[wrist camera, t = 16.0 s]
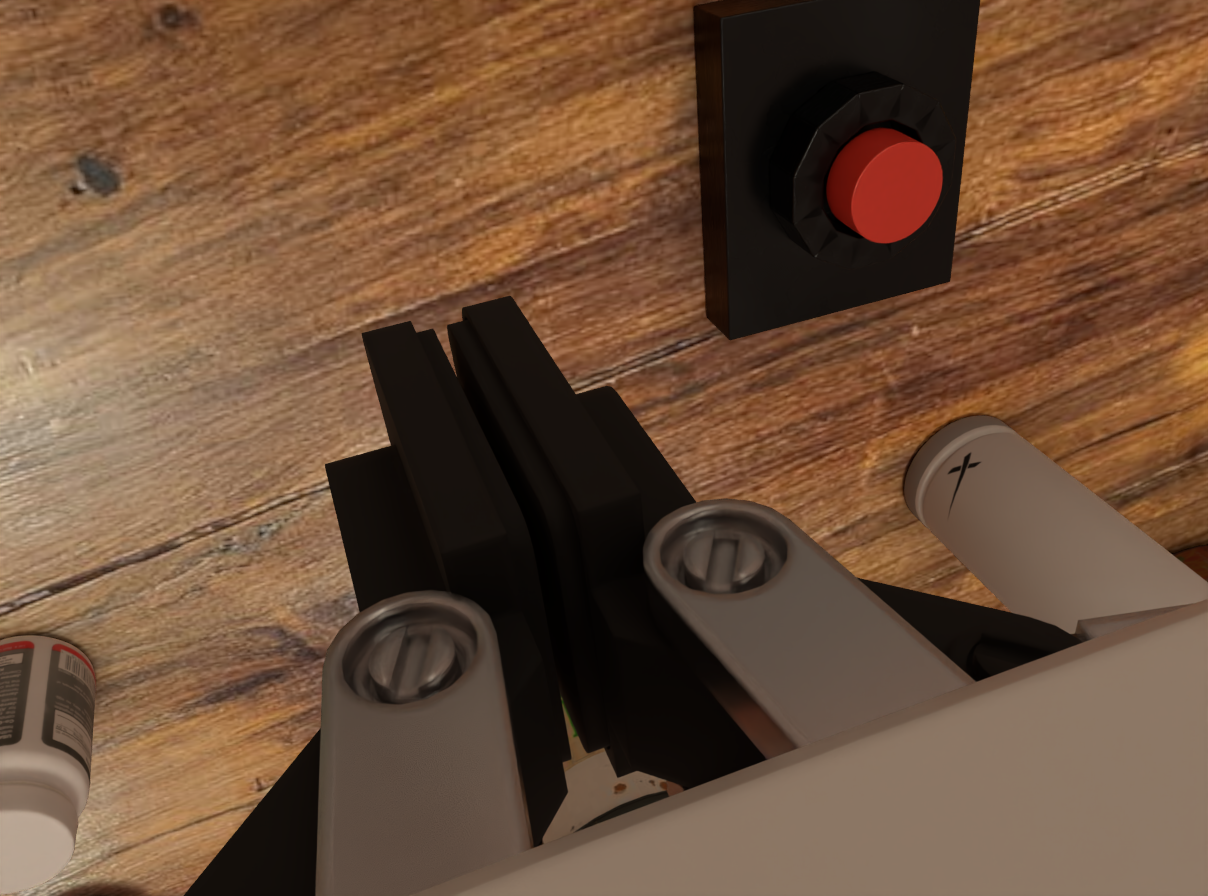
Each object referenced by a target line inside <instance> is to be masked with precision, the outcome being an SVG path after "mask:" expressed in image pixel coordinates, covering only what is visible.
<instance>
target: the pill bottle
mask: <svg viewBox="0 0 1208 896" xmlns="http://www.w3.org/2000/svg"><path fill="white" fill-rule="evenodd" d="M95 693H96V677H95V672H94V668H93V666H92V664H91V662H90V660H89V659H88V658H87V656H86V655H85V654H84V653H83V652H81V651H80V650H79V649H78V648H76V647H75V646H73V645H71V644H69V643H66V642H64V641H61V640H58V639H55V638H50V637H46V636H36V635H25V636H16V637H10V638H6V639H3V640H0V894H10V893H16V892H20V891H24V890H28V889H31V888H33V887H36V886H38V885H41V884H43V883H45V882H47V881H48V880H50V879H52V878H53V877H55V876H56V875H57V874H59V873H60V872H61V871H62V870H63V869H64V868H65V867H66V865H67V864H68V863H69V861H70V860H71V858H72V855H73V853H74V849H75V840H76V833H77V828H78V817H79V816H80V815H81V813H82V812H83V810H84V808H85V805H86V803H87V799H88V795H89V788H90V772H91V756H92V738H93V721H94V707H95Z"/></svg>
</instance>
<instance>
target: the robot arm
mask: <svg viewBox="0 0 1208 896" xmlns="http://www.w3.org/2000/svg"><path fill="white" fill-rule="evenodd" d="M462 318H463V321H461V322H457V323H453V324H449V325H447V330H448V337H449V342H450V347H451V351H452V356H453V361H454V365H455V370H456V375H457V377H456V375H455V373H454V371H453V369H452V366H451V364H450V362H449V360H448V358H447V356H446V354H445V352H444V350H443V348H442V346H441V344H440V342H439V340H438V338H437V335H436V333H435V331H434V330H433V329H429V330H426V331H422V332H418V333H416V331H415V329H414V327H413V325H412V323H411V321H408V322H404V323H400V324H396V325H392V326H388V327H384V328H380V329H376V330H372V331H368V332H364V333H362V338H363V342H364V346H365V350H366V354H367V358H368V361H369V365H370V369H371V373H372V376H373V380H374V384H375V388H376V391H377V395H378V399H379V402H380V406H381V410H382V414H383V417H384V421H385V425H386V429H387V432H388V436H389V440H390V443H391V446H389V447H385V448H381V449H378V450H374V451H371V452H367V453H363V454H360V455H356V456H353V457H349V458H345V459H342V460H338V461H335V462H331V463H327V464H325V468H326V473H327V477H328V481H329V485H330V490H331V494H332V498H333V502H334V506H335V510H336V515H337V519H338V523H339V527H340V531H341V536H342V540H343V544H344V548H345V552H346V557H347V561H348V565H349V569H350V573H351V577H352V582H353V586H354V590H355V594H356V598H357V603H358V607H359V611H360V613H358V614H357V615H356V616H355V617H354V618H353V619H352V620H350V621H349V622H348V623H347V624H346V625H345V626H344V627H343V628H342V629H340V631H339V632H338V634H337V635H336V637H335V638H334V640H333V641H332V643H331V645H330V646H329V648H328V649H327V653H326V658H325V662H324V666H323V674H322V706H321V728H320V730H319V731H318V732H317V733H316V735H315V736H314V737H313V738H312V739H311V741H310V742H309V743H308V744H307V745H306V747H305V748H304V749H303V750H302V752H301V753H300V754H299V755H298V756H297V758H296V759H295V760H294V761H293V763H292V764H291V765H290V766H289V767H288V769H287V770H286V771H285V772H284V774H283V775H282V776H281V777H280V778H279V780H278V781H277V782H276V783H275V785H274V786H273V787H272V788H271V789H270V791H269V792H268V793H267V794H266V796H265V797H264V798H263V799H262V800H261V802H260V803H259V804H258V805H257V807H256V808H255V809H254V810H253V811H252V813H251V814H250V815H249V816H248V818H247V819H246V820H245V821H244V822H243V824H242V825H241V826H240V827H239V829H238V830H237V831H236V832H235V833H234V835H233V836H232V837H231V838H230V840H229V841H228V842H227V843H226V844H225V846H224V847H223V848H222V849H221V851H220V852H219V853H218V854H217V855H216V857H215V858H214V859H213V860H212V862H211V863H210V864H209V865H208V866H207V868H206V869H205V870H204V871H203V873H202V874H201V875H200V876H199V877H198V879H197V880H196V881H195V882H194V884H193V885H192V886H191V887H190V888H189V890H188V891H187V892H186V893H185V895H184V896H1208V599H1205V600H1203V601H1200V602H1197V603H1192V604H1185V605H1178V606H1172V607H1165V608H1158V609H1151V610H1144V611H1137V612H1131V613H1124V614H1117V615H1110V616H1103V617H1097V618H1090V619H1083V620H1078V622H1077V627H1076V631H1075V633H1074V634H1069V633H1068V632H1066V631H1064V630H1063V629H1061V628H1059V627H1057V626H1055V625H1052V624H1049V623H1046V622H1043V621H1040V620H1037V619H1034V618H1031V617H1028V616H1024V615H1019V614H1015V613H1010V612H1006V611H1002V610H997V609H993V608H988V607H984V606H980V605H975V604H971V603H966V602H962V601H957V600H953V599H949V598H944V597H940V596H935V595H931V594H926V593H922V592H918V591H913V590H909V589H904V588H900V587H896V586H891V585H887V584H882V583H878V582H873V581H869V580H865V579H860V578H856V577H855V576H854V575H853V574H852V573H851V572H849V571H848V570H847V569H846V568H845V567H844V566H843V565H841V564H840V563H839V562H838V561H837V560H836V559H834V558H833V557H832V556H831V555H830V554H829V553H828V552H826V551H825V550H824V549H823V548H822V547H821V546H820V545H818V544H817V543H816V542H815V541H814V540H813V539H812V538H810V537H809V536H808V535H807V534H806V533H805V532H803V531H802V530H801V529H800V528H799V527H798V526H797V525H795V524H794V523H793V522H792V521H791V520H790V519H788V518H787V517H785V516H783V515H782V514H780V513H779V512H777V511H776V510H774V509H772V508H770V507H767V506H764V505H761V504H758V503H755V502H752V501H745V500H736V499H727V498H726V499H715V500H704V501H700V502H697V503H696V501H695V500H694V498H693V497H692V496H691V494H690V493H689V491H688V490H687V489H686V487H685V486H684V485H683V483H682V482H681V480H680V479H679V478H678V476H677V475H676V473H675V472H674V471H673V469H672V468H671V467H670V465H669V464H668V462H667V461H666V460H665V458H664V457H663V455H662V454H661V453H660V451H659V450H658V449H657V447H656V446H655V444H654V443H653V442H652V440H651V439H650V437H649V436H648V435H647V433H646V432H645V431H644V429H643V428H642V426H641V425H640V424H639V422H638V421H637V419H636V418H635V417H634V415H633V414H632V413H631V411H630V410H629V408H628V407H627V406H626V404H625V403H624V401H623V400H622V399H621V397H620V396H619V395H618V393H617V392H616V391H615V390H614V389H613V388H612V387H610V386H604V387H601V388H597V389H594V390H590V391H586V392H583V393H579V394H575V392H574V391H573V389H572V388H571V386H570V385H569V383H568V382H567V380H566V379H565V377H564V376H563V374H562V373H561V371H560V370H559V368H558V367H557V365H556V363H555V362H554V360H553V359H552V357H551V356H550V354H549V353H548V351H547V350H546V348H545V347H544V345H543V344H542V342H541V341H540V339H539V338H538V336H537V335H536V333H535V331H534V330H533V328H532V327H531V325H530V324H529V322H528V321H527V319H526V318H525V316H524V315H523V313H522V312H521V310H520V309H519V307H518V306H517V304H516V302H515V301H514V299H513V298H512V297H511V296H507V297H503V298H499V299H495V300H491V301H487V302H483V303H480V304H476V305H472V306H468V307H464V308H462ZM561 697H562V700H563V702H564V704H565V707H566V709H567V711H568V713H569V716H570V718H571V720H572V723H573V725H574V727H575V730H576V732H577V734H578V737H579V739H580V741H581V744H582V746H583V748H584V750H585V751H586V753H591V752H594V751H597V750H599V749H602V748H604V749H605V752H606V754H607V756H608V758H609V760H610V763H611V765H612V767H613V769H614V771H615V774H616V776H617V778H619V777H622V776H625V775H628V774H630V773H633V772H636V771H639V772H642V773H645V774H648V775H651V776H654V777H657V778H660V779H663V780H666V785H667V793H668V795H669V797H667V798H665V799H662V800H659V801H657V802H654V803H651V804H649V805H646V806H644V807H641V808H638V809H636V810H633V811H630V812H628V813H625V814H622V815H620V816H617V817H614V818H612V819H609V820H606V821H604V822H601V823H598V824H596V825H593V826H590V827H588V828H585V829H583V830H580V831H577V832H575V833H572V834H569V835H567V836H564V837H561V838H559V839H556V840H553V841H551V842H548V843H546V844H544V843H543V836H544V835H545V833H546V831H547V829H548V827H549V826H550V824H551V822H552V820H553V819H554V817H555V815H556V813H557V811H558V810H559V808H560V806H561V804H562V803H563V801H564V799H565V797H566V795H567V794H568V788H567V783H566V778H565V772H564V767H563V762H566V761H569V760H571V758H572V756H571V750H570V744H569V739H568V733H567V728H566V722H565V717H564V711H563V706H562V700H561Z"/></svg>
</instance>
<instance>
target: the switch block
mask: <svg viewBox="0 0 1208 896" xmlns="http://www.w3.org/2000/svg"><path fill="white" fill-rule="evenodd" d="M979 6H980V0H723V1H718V2H712V3H707V4H702V5H696V6H694V22H695V46H696V69H697V93H698V117H699V141H700V165H701V189H702V213H703V237H704V260H705V284H706V308H707V318H708V319H709V320H710V321H711V322H712V323H713V324H714V325H715V326H716V327H717V328H718V329H719V330H720V331H721V332H722V333H723V334H724V335H725V336H726V337H727V338H728V339H729V340H733V339H737V338H741V337H745V336H748V335H752V334H756V333H760V332H763V331H767V330H771V329H775V328H778V327H782V326H786V325H790V324H793V323H797V322H801V321H805V320H808V319H812V318H816V317H820V316H823V315H827V314H831V313H834V312H838V311H842V310H846V309H849V308H853V307H857V306H861V305H864V304H868V303H872V302H876V301H879V300H883V299H887V298H891V297H894V296H898V295H902V294H906V293H909V292H913V291H917V290H921V289H924V288H928V287H932V286H936V285H939V284H943V283H947V282H950V278H951V269H952V260H953V250H954V241H955V231H956V222H957V213H958V203H959V194H960V185H961V175H962V166H963V156H964V147H965V138H966V128H967V119H968V110H969V100H970V91H971V81H972V72H973V63H974V53H975V44H976V35H977V25H978V16H979ZM875 128H891V129H894V130H897V131H899V132H901V133H903V134H905V135H907V136H909V137H911V138H913V139H915V140H917V141H919V142H921V143H923V144H925V145H926V146H928V147H929V148H931V149H932V150H933V151H934V153H935V154H936V155H937V157H938V159H939V161H940V164H941V168H942V175H943V181H942V189H941V193H940V197H939V199H938V202H937V204H936V206H935V208H934V210H933V212H932V213H931V215H930V216H929V218H928V219H927V220H926V221H925V222H924V224H923V225H922V226H921V227H920V228H918V229H917V230H916V231H915V232H914V233H912V234H911V235H909V236H907V237H906V238H904V239H901V240H899V241H896V242H892V243H876V242H872V241H870V240H867V239H866V238H864V237H863V236H861V235H860V234H858V233H857V232H855V231H854V230H852V229H851V228H849V227H848V226H846V225H845V224H843V223H842V222H841V221H839V220H838V219H837V218H836V217H835V216H834V214H833V213H832V212H831V209H830V207H829V204H828V201H827V195H826V186H827V179H828V175H829V172H830V169H831V166H832V164H833V162H834V160H835V159H836V157H837V155H838V154H839V153H840V151H841V150H842V149H843V148H844V146H845V145H846V144H847V143H849V142H850V141H851V140H852V139H853V138H855V137H856V136H858V135H859V134H861V133H863V132H865V131H868V130H871V129H875Z"/></svg>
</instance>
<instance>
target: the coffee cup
mask: <svg viewBox="0 0 1208 896" xmlns="http://www.w3.org/2000/svg"><path fill="white" fill-rule="evenodd" d="M561 700H562V697H561ZM562 706H563V711H564V717H565V722H566V728H567V733H568V739H569V744H570V750H571V756H572V758H571V760H569V761H566V762H563V767H564V772H565V778H566V783H567V788H568V794H567V795H566V797H565V799H564V801H563V803H562V804H561V806H560V808H559V810H558V811H557V813H556V815H555V817H554V819H553V820H552V822H551V824H550V826H549V827H548V829H547V831H546V833H545V835H544V836H543V843H544V844H546V843H548V842H551V841H553V840H556V839H559V838H561V837H564V836H567V835H569V834H572V833H575V832H577V831H580V830H583V829H585V828H588V827H590V826H593V825H596V824H598V823H601V822H604V821H606V820H609V819H612V818H614V817H617V816H620V815H622V814H625V813H628V812H630V811H633V810H636V809H638V808H641V807H644V806H646V805H649V804H651V803H654V802H657V801H659V800H662V799H665V798H667V797H669V795H668V793H667V785H666V780H663V779H660V778H657V777H654V776H651V775H648V774H645V773H642V772H639V771H636V772H633V773H630V774H628V775H625V776H622V777H619V778H617V776H616V774H615V771H614V769H613V767H612V765H611V763H610V760H609V758H608V756H607V754H606V752H605V749H604V748H602V749H599V750H597V751H594V752H591V753H586V751H585V750H584V748H583V746H582V744H581V741H580V739H579V737H578V734H577V732H576V730H575V727H574V725H573V723H572V720H571V718H570V716H569V713H568V711H567V709H566V707H565V704H564V702H563V700H562Z"/></svg>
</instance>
